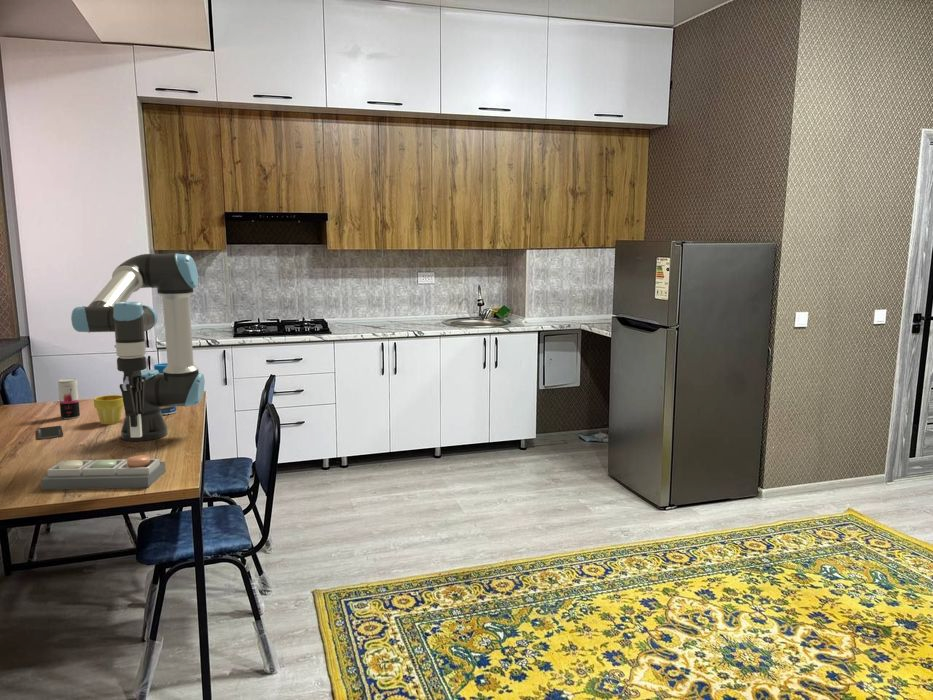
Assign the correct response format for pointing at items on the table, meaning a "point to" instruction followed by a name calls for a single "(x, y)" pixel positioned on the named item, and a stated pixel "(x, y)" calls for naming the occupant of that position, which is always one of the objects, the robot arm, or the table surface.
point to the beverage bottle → (172, 408)
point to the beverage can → (68, 398)
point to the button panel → (103, 476)
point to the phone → (49, 432)
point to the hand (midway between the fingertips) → (136, 436)
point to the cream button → (71, 464)
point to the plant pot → (109, 408)
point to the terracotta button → (138, 461)
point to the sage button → (105, 464)
